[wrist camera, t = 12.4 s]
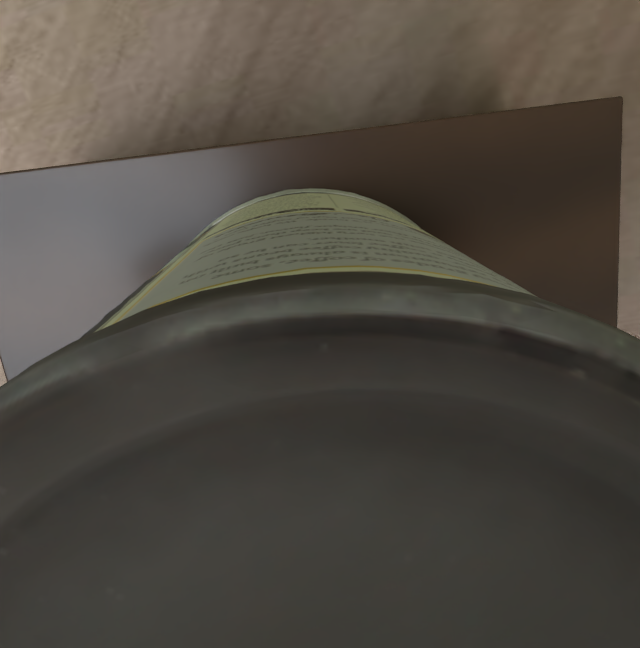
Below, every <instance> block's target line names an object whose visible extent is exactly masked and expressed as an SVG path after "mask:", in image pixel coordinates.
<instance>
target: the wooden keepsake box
mask: <svg viewBox="0 0 640 648" xmlns="http://www.w3.org/2000/svg"><path fill="white" fill-rule="evenodd" d="M622 105H623V98H622V97H621V96H619V97H611V98H603V99H595V100H587V101H579V102H571V103H562V104H554V105H546V106H538V107H530V108H522V109H514V110H506V111H498V112H490V113H482V114H473V115H465V116H457V117H449V118H441V119H433V120H425V121H417V122H409V123H401V124H393V125H384V126H376V127H368V128H360V129H352V130H344V131H336V132H328V133H320V134H312V135H304V136H296V137H287V138H279V139H271V140H263V141H255V142H247V143H239V144H231V145H223V146H215V147H207V148H198V149H190V150H182V151H174V152H166V153H158V154H150V155H142V156H134V157H126V158H118V159H109V160H101V161H93V162H85V163H77V164H69V165H61V166H53V167H45V168H37V169H29V170H21V171H12V172H4V173H0V358H1V362H2V365H3V369H4V372H5V376H6V379H7V382H8V381H10V380H11V379H12V378H14V377H15V376H17V375H18V374H20V373H21V372H23V371H24V370H25V369H27V368H28V367H30V366H31V365H33V364H34V363H36V362H38V361H40V360H41V359H43V358H45V357H47V356H49V355H50V354H52V353H54V352H56V351H58V350H59V349H61V348H63V347H65V346H67V345H68V344H70V343H72V342H74V341H76V340H78V339H80V338H81V337H82V336H83V335H84V334H85V333H86V332H88V331H89V330H90V329H92V328H93V327H94V326H95V325H96V324H98V323H99V322H100V321H101V320H102V319H103V317H104V316H105V315H106V314H107V313H109V312H110V311H111V310H113V309H114V308H116V307H117V306H118V305H120V304H121V303H122V302H123V301H124V300H125V299H126V298H127V297H128V296H129V295H131V294H132V293H133V292H134V291H136V290H137V289H138V288H139V287H140V286H141V285H142V284H143V283H145V282H146V281H147V280H148V279H150V278H151V277H153V276H154V275H155V274H156V273H157V272H159V271H160V270H161V269H162V268H163V267H164V266H165V265H167V264H168V263H169V262H170V261H171V260H172V259H173V258H174V257H175V256H177V255H178V254H179V253H180V252H182V251H183V250H184V249H185V248H186V247H187V246H188V245H189V244H190V242H191V241H192V240H193V239H194V238H195V237H196V236H197V235H198V234H199V233H200V232H202V231H203V230H204V229H205V228H206V227H207V226H208V225H209V224H211V223H212V222H213V221H214V220H216V219H217V218H219V217H220V216H222V215H223V214H225V213H226V212H228V211H230V210H231V209H233V208H235V207H237V206H239V205H241V204H243V203H246V202H248V201H250V200H253V199H255V198H257V197H261V196H266V195H269V194H273V193H276V192H279V191H283V190H287V189H310V188H311V189H331V190H339V191H345V192H351V193H355V194H358V195H360V196H364V197H367V198H370V199H373V200H375V201H378V202H380V203H382V204H384V205H387V206H388V207H390V208H392V209H394V210H396V211H397V212H399V213H401V214H402V215H404V216H406V217H407V218H408V219H410V220H411V221H413V222H414V223H415V224H417V225H418V226H419V227H420V228H421V229H422V230H424V231H425V232H427V233H429V234H431V235H432V236H434V237H436V238H437V239H439V240H441V241H443V242H444V243H446V244H448V245H449V246H451V247H453V248H454V249H456V250H458V251H459V252H461V253H463V254H465V255H466V256H468V257H470V258H471V259H473V260H475V261H476V262H478V263H480V264H481V265H483V266H485V267H487V268H488V269H490V270H492V271H493V272H495V273H497V274H499V275H501V276H503V277H505V278H507V279H508V280H510V281H512V282H513V283H515V284H517V285H518V286H520V287H522V288H523V289H525V290H527V291H528V292H530V293H532V294H533V295H535V296H537V297H538V298H541V299H544V300H546V301H549V302H552V303H555V304H557V305H560V306H563V307H565V308H568V309H571V310H573V311H576V312H578V313H581V314H584V315H586V316H588V317H591V318H594V319H596V320H599V321H601V322H604V323H606V324H609V325H611V326H614V327H616V328H617V303H618V263H619V224H620V184H621V145H622Z"/></svg>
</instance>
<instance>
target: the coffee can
mask: <svg viewBox="0 0 640 648" xmlns="http://www.w3.org/2000/svg"><path fill="white" fill-rule="evenodd" d="M0 648H640V339H638V338H636V337H634V336H632V335H630V334H628V333H626V332H624V331H622V330H620V329H618V328H616V327H614V326H611V325H609V324H606V323H604V322H601V321H599V320H596V319H594V318H591V317H588V316H586V315H584V314H581V313H578V312H576V311H573V310H571V309H568V308H565V307H563V306H560V305H557V304H555V303H552V302H549V301H546V300H544V299H541V298H538V297H537V296H535V295H533V294H532V293H530V292H528V291H527V290H525V289H523V288H522V287H520V286H518V285H517V284H515V283H513V282H512V281H510V280H508V279H507V278H505V277H503V276H501V275H499V274H497V273H495V272H493V271H492V270H490V269H488V268H487V267H485V266H483V265H481V264H480V263H478V262H476V261H475V260H473V259H471V258H470V257H468V256H466V255H465V254H463V253H461V252H459V251H458V250H456V249H454V248H453V247H451V246H449V245H448V244H446V243H444V242H443V241H441V240H439V239H437V238H436V237H434V236H432V235H431V234H429V233H427V232H425V231H424V230H422V229H421V228H420V227H419V226H418V225H417V224H415V223H414V222H413V221H411V220H410V219H408V218H407V217H406V216H404V215H402V214H401V213H399V212H397V211H396V210H394V209H392V208H390V207H388V206H387V205H384V204H382V203H380V202H378V201H375V200H373V199H370V198H367V197H364V196H360V195H358V194H355V193H351V192H345V191H339V190H331V189H311V188H310V189H287V190H283V191H279V192H276V193H273V194H269V195H266V196H261V197H257V198H255V199H253V200H250V201H248V202H246V203H243V204H241V205H239V206H237V207H235V208H233V209H231V210H230V211H228V212H226V213H225V214H223V215H222V216H220V217H219V218H217V219H216V220H214V221H213V222H212V223H211V224H209V225H208V226H207V227H206V228H205V229H204V230H203V231H202V232H200V233H199V234H198V235H197V236H196V237H195V238H194V239H193V240H192V241H191V242H190V244H189V245H188V246H187V247H186V248H185V249H184V250H183V251H182V252H180V253H179V254H178V255H177V256H175V257H174V258H173V259H172V260H171V261H170V262H169V263H168V264H167V265H165V266H164V267H163V268H162V269H161V270H160V271H159V272H157V273H156V274H155V275H154V276H153V277H151V278H150V279H148V280H147V281H146V282H145V283H143V284H142V285H141V286H140V287H139V288H138V289H137V290H136V291H134V292H133V293H132V294H131V295H129V296H128V297H127V298H126V299H125V300H124V301H123V302H122V303H121V304H120V305H118V306H117V307H116V308H114V309H113V310H111V311H110V312H109V313H107V314H106V315H105V316H104V317H103V319H102V320H101V321H100V322H99V323H98V324H96V325H95V326H94V327H93V328H92V329H90V330H89V331H88V332H86V333H85V334H84V335H83V336H82V337H81V338H80V339H78V340H76V341H74V342H72V343H70V344H68V345H67V346H65V347H63V348H61V349H59V350H58V351H56V352H54V353H52V354H50V355H49V356H47V357H45V358H43V359H41V360H40V361H38V362H36V363H34V364H33V365H31V366H30V367H28V368H27V369H25V370H24V371H23V372H21V373H20V374H18V375H17V376H15V377H14V378H12V379H11V380H10V381H8V382H7V383H5V384H4V385H2V386H1V387H0Z"/></svg>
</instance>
